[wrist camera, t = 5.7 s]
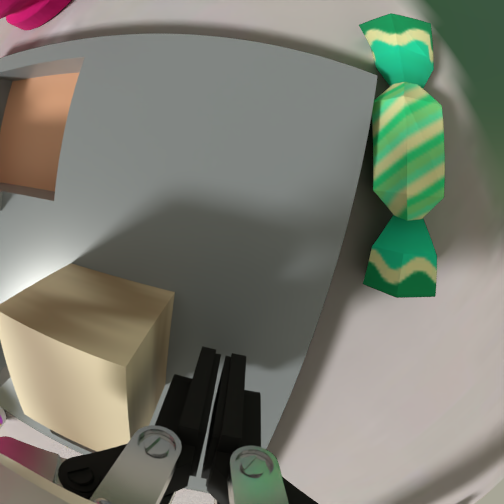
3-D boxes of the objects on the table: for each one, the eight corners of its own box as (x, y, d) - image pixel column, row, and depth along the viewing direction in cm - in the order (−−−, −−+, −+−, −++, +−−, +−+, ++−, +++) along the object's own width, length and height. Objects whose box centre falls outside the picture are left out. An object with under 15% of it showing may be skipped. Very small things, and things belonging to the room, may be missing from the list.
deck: (357, 91, 11) (447, 24, 4) (242, 473, 18) (238, 551, 10) (-12, 76, 10) (-84, 62, 3) (-4, 380, 17) (-45, 422, 10)
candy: (435, 277, 13) (434, 307, 9) (375, 267, 15) (355, 292, 11) (433, 50, 10) (428, 10, 6) (373, 49, 12) (351, 13, 8)
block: (174, 291, 11) (125, 367, 6) (165, 384, 12) (133, 465, 7) (70, 263, 11) (-7, 308, 6) (75, 354, 12) (24, 414, 7)
